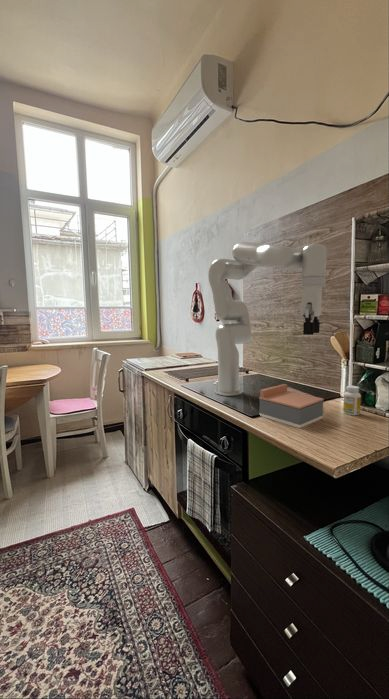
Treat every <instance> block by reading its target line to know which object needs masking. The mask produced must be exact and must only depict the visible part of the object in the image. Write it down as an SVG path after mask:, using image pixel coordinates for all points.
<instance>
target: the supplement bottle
mask: <svg viewBox="0 0 389 699" xmlns="http://www.w3.org/2000/svg"><path fill="white" fill-rule="evenodd" d="M359 391H360V386H356V385H347V386H346V391H345V392H344V393H343V410H342V411H343V413H344V414H345V415H348V416H349V415H350V416H359V415H360V413H361V399H362V395H361V393H360V392H359Z"/></svg>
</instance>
